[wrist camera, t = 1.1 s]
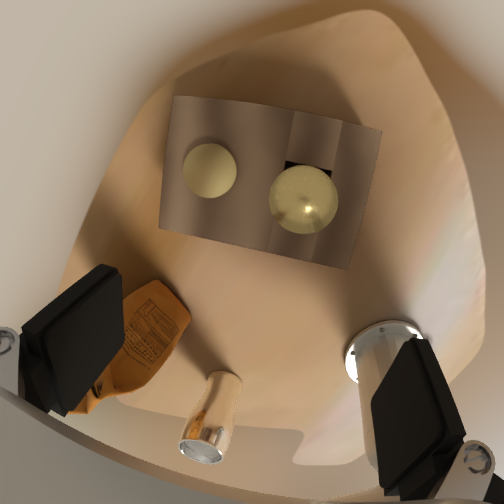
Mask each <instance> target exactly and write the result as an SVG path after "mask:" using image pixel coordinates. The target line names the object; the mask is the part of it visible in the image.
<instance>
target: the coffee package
mask: <svg viewBox="0 0 504 504" xmlns="http://www.w3.org/2000/svg"><path fill="white" fill-rule="evenodd" d="M123 315H124V330H125V341H124V344H123V346H122V348H121V349H120V350H119V351H118V353H117V354H116V355H115V357H114V358H113V359H112V361H111V362H110V363H109V364H108V366H107V367H106V368H105V370H104V371H103V372H102V374H101V375H100V376H99V378H98V379H97V380H96V382H95V383H94V384H93V386H92V387H91V388H90V390H89V391H88V392H87V394H86V395H85V396H84V398H83V399H82V400H81V402H80V403H79V404H78V406H77V407H76V409H75V410H73V411H69V412H68V413H67V414H88V413H89V412H90V411H91V410H92V409H93V408H94V407H95V406H96V405H97V404H98V402H100V401H101V400H103V399H104V398H106V397H111V396H117V395H121V394H127V393H131V392H134V391H136V390H138V389H140V388H141V387H143V386H145V385H146V384H147V383H148V382H149V381H150V380H151V379H152V377H153V376H154V375H155V374H156V373H157V372H158V370H159V369H160V368H161V367H162V365H163V364H164V363H165V361H166V360H167V359H168V357H169V356H170V355H171V353H172V351H173V349H174V347H175V346H176V343H177V342H178V340H179V339H180V337H181V335H182V333H183V331H184V330H185V328H186V327H187V325H188V324H189V322H190V321H191V319H192V317H191V315H190V313H189V312H188V311H187V310H186V309H185V307H184V306H183V305H182V304H181V302H180V301H179V300H178V299H177V298H176V297H175V296H174V295H173V294H172V292H171V291H170V290H169V289H168V288H167V287H166V286H165V285H163V284H162V283H161V282H160V281H159V280H153V281H151V282H149V283H148V284H146V285H144V286H143V287H141V288H139V289H137V290H136V291H134V292H133V293H131V294H130V295H129V296H127V297H126V298H125V299H124V300H123Z"/></svg>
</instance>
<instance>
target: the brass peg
mask: <svg viewBox="0 0 504 504" xmlns="http://www.w3.org/2000/svg"><path fill="white" fill-rule="evenodd" d="M269 206H270V210H271V212H272V215H273V216H274V218H275V220H276V221H277V222H278V223H279V224H280V225H281V226H282V227H284V228H285V229H287V230H289V231H291V232H294V233H298V234H310V233H314V232H317V231H319V230H321V229H323V228H324V227H326V226H327V225H328V224H329V223H330V222H331V221H332V219H333V218H334V216H335V214H336V211H337V207H338V194H337V190H336V187H335V185H334V183H333V182H332V180H331V179H330V177H329V176H328V175H327V174H326V173H324V172H323V171H322V170H320V169H318V168H316V167H313V166H308V165H297V166H293V167H291V168H288V169H286V170H285V171H283V172H282V173H281V174H280V175H279V176H278V177H277V178H276V180H275V181H274V183H273V184H272V186H271V189H270V193H269Z"/></svg>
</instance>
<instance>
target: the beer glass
mask: <svg viewBox="0 0 504 504" xmlns="http://www.w3.org/2000/svg"><path fill="white" fill-rule="evenodd" d="M242 389H243V384H242V382H241V380H240V379H239V378H238V377H237V376H236V375H234V374H233V373H230V372H227V371H215V372H213V373H211V374H210V375H209V377H208V380H207V386H206V390H205V393H204V395H203V396H202V398H201V399H200V400H199V402H198V403H197V404H196V406H195V407H194V409H193V410H192V412H191V413H190V415H189V417H188V419H187V421H186V423H185V426H184V428H183V431H182V434H181V437H180V440H179V443H178V448H179V450H180V452H181V453H183V455H185V456H186V457H188V458H189V459H191V460H194V461H196V462H199V463H204V464H218V463H220V462H222V461H223V459H224V456H225V453H226V451H227V448H228V446H229V443H230V440H231V437H232V433H233V427H234V416H235V404H236V400H237V398H238V396H239V395H240V393H241V391H242Z"/></svg>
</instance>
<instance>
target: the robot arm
mask: <svg viewBox="0 0 504 504" xmlns="http://www.w3.org/2000/svg"><path fill="white" fill-rule="evenodd" d="M21 328H22V333H21V334H20V335H18V333H17V332H16V331H15V330H13V329H11V328H8V327H0V504H504V480H503V479H501V478H500V477H499V476H497V475H496V474H494V473H493V472H494V469H495V458H494V455H493V453H492V451H491V450H490V449H489V447H488V446H487V445H485V444H484V443H482V442H480V441H476V440H470V441H467V442H465V443H464V441H463V437H464V436H465V435H466V432H465V429H464V426H463V423H462V421H461V418H460V415H459V413H458V410H457V407H456V404H455V402H454V399H453V397H452V394H451V392H450V389H449V387H448V384H447V382H446V379H445V377H444V375H443V372H442V370H441V368H440V365H439V363H438V361H437V359H436V356H435V354H434V352H433V350H432V347H431V345H430V343H429V341H428V340H426V339H423V337H422V335H421V333H420V331H419V330H418V329H417V328H416V327H415V326H413V325H412V324H410V323H407V322H404V321H399V320H389V321H382V322H379V323H376V324H373V325H371V326H369V327H367V328H366V329H364V330H363V331H361V332H360V333H359V334H358V335H357V336H356V337H354V339H353V340H352V341H351V343H350V344H349V346H348V348H347V350H346V354H345V366H346V370H347V373H348V374H349V376H350V377H351V378H352V379H353V380H354V381H355V382H357V383H358V387H359V395H360V404H361V413H362V423H363V433H364V444H365V453H366V456H367V459H368V461H369V463H370V464H371V466H373V468H374V469H375V470H376V471H377V472H378V473H379V484H380V485H378V486H376V487H373V488H370V489H366V490H363V491H358V492H355V493H350V494H346V495H342V496H337V497H333V498H329V499H325V500H310V499H300V498H292V497H284V496H277V495H271V494H264V493H258V492H253V491H248V490H243V489H238V488H233V487H229V486H225V485H221V484H216V483H213V482H209V481H205V480H202V479H198V478H195V477H191V476H188V475H184V474H181V473H178V472H175V471H172V470H169V469H166V468H163V467H160V466H157V465H155V464H152V463H149V462H147V461H144V460H141V459H139V458H136V457H134V456H131V455H129V454H126V453H124V452H122V451H119V450H117V449H115V448H113V447H110V446H108V445H106V444H104V443H102V442H100V441H97V440H95V439H93V438H91V437H89V436H87V435H85V434H83V433H81V432H79V431H78V430H76V429H74V428H72V427H70V426H68V425H66V424H64V423H62V422H61V421H59V420H57V419H55V418H53V417H52V416H50V415H48V412H49V411H50V410H53V411H54V412H56V413H58V414H60V415H61V416H63V417H65V416H66V414H67V413H68V412H69V411H73V410H75V409H76V407H77V406H78V404H79V403H80V402H81V400H82V399H83V398H84V396H85V395H86V394H87V392H88V391H89V390H90V388H91V387H92V386H93V384H94V383H95V382H96V380H97V379H98V378H99V376H100V375H101V374H102V372H103V371H104V370H105V368H106V367H107V366H108V364H109V363H110V362H111V361H112V359H113V358H114V357H115V355H116V354H117V353H118V351H119V350H120V349H121V348H122V346H123V344H124V341H125V330H124V315H123V295H122V276H121V274H119V273H118V270H117V269H116V268H114V267H111V266H108V265H104V264H100V265H98V266H97V267H95V268H94V269H93V270H91V271H90V272H89V273H87V274H86V275H85V276H84V277H82V278H81V279H80V280H78V281H77V282H76V283H74V284H73V285H72V286H71V287H69V288H68V289H67V290H66V291H64V292H63V293H62V294H60V295H59V296H58V297H57V298H55V299H54V300H53V301H52V302H51V303H49V304H48V305H47V306H46V307H44V308H43V309H42V310H41V311H40V312H38V313H37V314H36V315H35V316H34V317H32V319H30V320H29V321H28V322H27V323H25V324H24V325H23V326H22V327H21Z"/></svg>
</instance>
